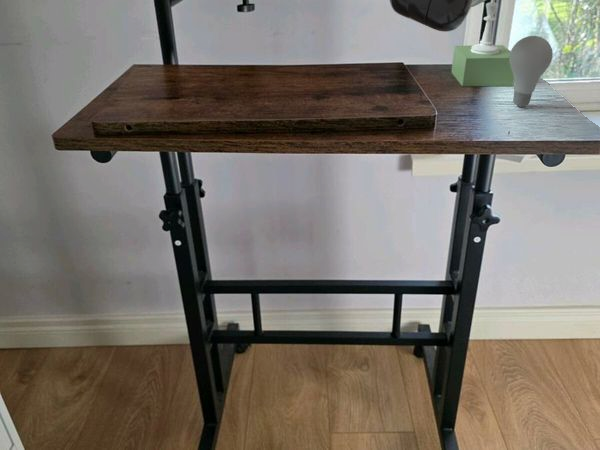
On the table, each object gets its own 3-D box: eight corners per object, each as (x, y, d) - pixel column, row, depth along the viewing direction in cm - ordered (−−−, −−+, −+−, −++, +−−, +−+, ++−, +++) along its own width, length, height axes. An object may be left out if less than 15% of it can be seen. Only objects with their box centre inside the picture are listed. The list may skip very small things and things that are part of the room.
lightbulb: (516, 98, 89) (529, 30, 84) (548, 108, 85) (565, 36, 79) (492, 105, 87) (504, 35, 81) (524, 116, 82) (540, 43, 76)
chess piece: (486, 56, 93) (496, -5, 88) (464, 50, 97) (473, -9, 92) (504, 52, 96) (515, -8, 90) (483, 46, 99) (492, -12, 94)
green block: (512, 85, 95) (518, 57, 92) (462, 86, 95) (466, 58, 93) (498, 71, 103) (502, 45, 100) (451, 72, 103) (454, 45, 100)
